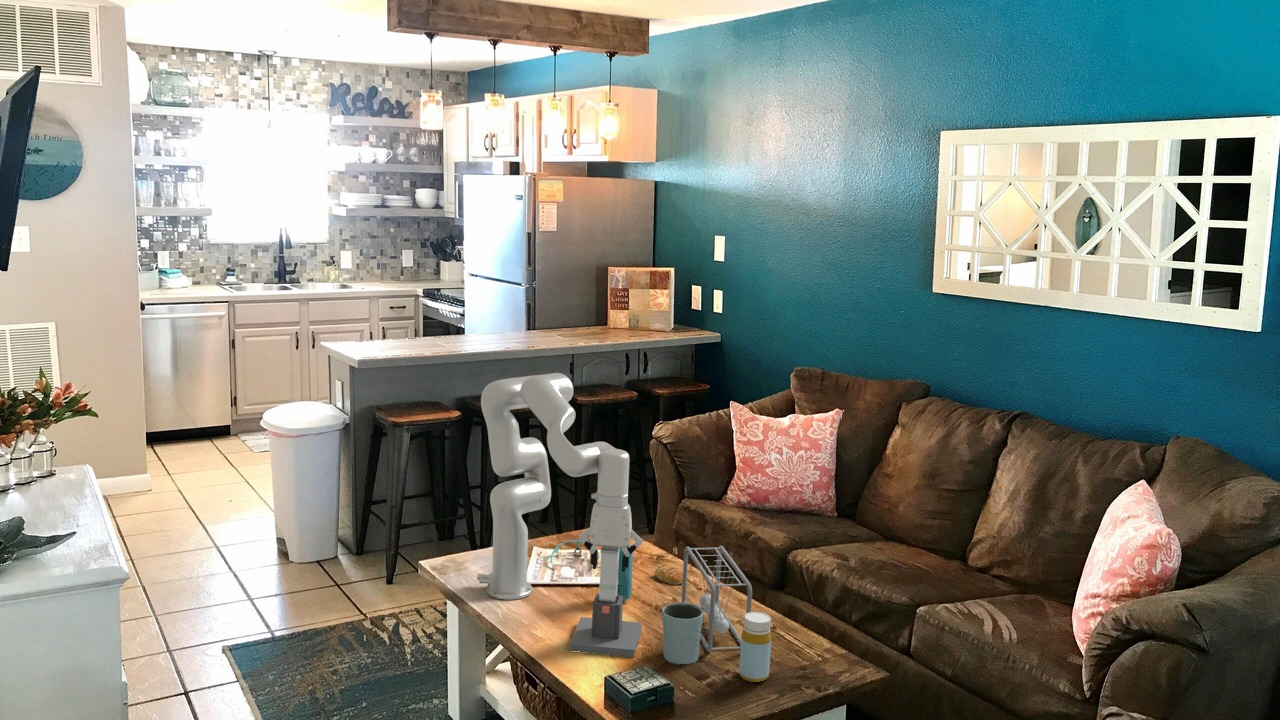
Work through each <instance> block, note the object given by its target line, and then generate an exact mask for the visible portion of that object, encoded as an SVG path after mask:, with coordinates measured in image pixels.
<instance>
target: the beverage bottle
mask: <svg viewBox="0 0 1280 720" xmlns="http://www.w3.org/2000/svg"><path fill="white" fill-rule="evenodd" d="M630 546H632V544H631V543H630V544H629V547H630ZM623 554H624V552H623V550H622V548H621V547H620V549H619V568H618V590H617V595H619V596H623V601H627V600H629V599H631V596H632V594H633V593H632V591H633V590H632V587H633V585H632V584H633V559H634V558H633V556H634V552H633V553H631V554H630V555H629V567H628V568H626V570H625V572H623V571H622V558H623Z"/></svg>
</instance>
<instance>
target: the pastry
mask: <svg viewBox="0 0 1280 720" xmlns="http://www.w3.org/2000/svg"><path fill="white" fill-rule="evenodd" d="M654 575H655V576H656V578H657V579H658V580H659V581H662V582H664V583H666V584H669V585H675V586H677V585H680V584H682V582H683V572H682V571H681V570H680V569H678V567H676V566H675V565H671V564H669V563H666V562H665V563H661V564H660V565H658V566H657V568H656V570H654Z"/></svg>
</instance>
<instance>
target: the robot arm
mask: <svg viewBox="0 0 1280 720" xmlns="http://www.w3.org/2000/svg"><path fill="white" fill-rule="evenodd" d="M573 385H574V384H573V382H572V381H571V380H570V378H569V377H568V376H567V375H565V374H564V373H561V372H554V373H553V372H552V373H546V374H537V375H525V376H518V377H509V378H503V379H497V380H494V381H492V382H490V383H488V384H487V385H485V387H484V389H483V391H482V393H481V397H480V407H481V410H482V414H483V417H484V418H483V419H484V420H485V423H486V429H487V436H488V445H489V453H490V460H491V467H492V469H493V471H494V473H495V474H496V475H497V476H499V477H510V476H516V475H521V474H522V475H523V474H524V477H523V478H522V477H521V478H515V479H512V480H508V481H504V482H503V481H502V482H501V483H499V484H497V485H496V486H494V488H493V489H492V490H491V492H490V496H489V500H490V501H489V502H490V508H491V514H492V521H493V522H492V526H493V527H492V529H493V530H492V573H489V574H485V573H479V572H478V574H477V578H476V579H477V581H479V584H485V585H486V584H487V585H486V593H487V594H488V595H489V596H490V597H493V598H494V599H499V600H505V601H506V600H508V601H509V600H510V601H511V600H520V599H524V598H526V597H528V596H529V595H531V593H532V592H533V586H532V584H531V583H529V582H528V580H527V579H528V551H529V550H528V547H529V546H528V544H529V533H528V532H529V530H528V527H527V524H526V523H525V521H524V519H523V517H522V515H524V514H527V513H530V512H531V513H532V512H535V511H540V510H543V509H545V508H546V507H547V506H548V505H549V504H550V502H551V499H552V498H551V497H552V487H551V486H552V485H551V478H550V469H549V468H550V467H549V461H548V454H547V451H546V448H545V446H544V445H543V443H542V442H541V441H540V440H539V439H537V438H536V437H530V436H529V437H523V438H521V434H520V426H519V422H518V421H517V419H516V417H515V416H514V414H512V413H511V412H510V411H512V410H517V409H519V410H520V409H526V408H529V409H530V410H531V412H532V413H533V414H534V416H535V417H536V418H537V419H538V420H539V421H540V423H541V424H542V425H543V426H544V427H545V428H546V430H547V434H546V443H547V448H548V452H549V454H550V456H551V458H552V459H553V462H555V464H556V465H557V466H558V467H559V468H560V469H561V470H562V471H563V472H564V473H565V474H566V475H568V476H570V477H573V478H577V477H578V478H579V477H583V476H588V475H592V474H597V491H596V492H594V493H591V495H590V496H591V499H593V500H594V501H596V502H594V504H593V507H592V510H591V516H590V524H589V526H590V527H588V528H587V529H585V530H584V531H582V533H581V532H580V534H579V535H578V539H579V541H581V542H582V544H583V546H584V547H585V548H586V549H587V550H588V551H589V553H590V565H591V566H593V569H592V570H596V569H597V567H598V562H599V561H598V559H599V550H598V551H597V549H598V547H599V546H600V547H602V546H609V547H621V548H622V550H623V552H624V554H623V558H622V571H623V572H625V570H626V568H628V567H629V555H630V554H631V553H633V554H634V552H636V551H637V549H638V548H639V547H640V546H642V544H643V543H644V542H643V541H644V539H643V538H641V537H640V536H639V535H638V534H637V533H636V532H635V531H634V530H633V528H632V527H633V525H632V524H633V522H632V511H631V506H630V504H629V503H628V502H629V501H628V500H629V479H630V454H629V453H628V451H626V450H623V449H619V448H616V447H614V446H612V445H611V444H609V443H608V442H606V441H595V442H589V443H588V442H587V443H584V444H580V445H573V444H572V443H571V442H570V441H569V440H568V439H567V437H566V436H565V435H564V433H565V432H566V431H568V430H569V428H570V427H571V426H572V425H573V423H574V422H575V419H576V411H575V409H574V407H572V405H570V401H571V400H572V397H573V396H574V386H573ZM587 537H589V539H588V538H587ZM631 540H633V541H634V543H632V544H631ZM581 542H580V543H581ZM629 544H630V545H631V546H630V547H629ZM596 548H597V549H596Z"/></svg>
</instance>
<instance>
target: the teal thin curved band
mask: <svg viewBox="0 0 1280 720" xmlns="http://www.w3.org/2000/svg"><path fill="white" fill-rule="evenodd" d="M569 543H576V548H575V550H574V551H573V553H575V554H576V552H577V551H579V552H580V554H581V552H582V553H583V551H582V549H581V547H580V543H582V542H581V540H580V539H579V540H576V539H574V540H573V539H572V540H566V541H563V542H561V543H559V544H558V545H556V546H555V548H554V549H553V551H552V553H551V556H550V564H551V563H552V564H553V555H554V554H555V553H556V554H557V553H558V554H559V546H562V545H565V544H569ZM582 544H583V543H582ZM596 549H597V551H598V552H599V550H598V547H597V548H596ZM591 568H593V565H591Z"/></svg>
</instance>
